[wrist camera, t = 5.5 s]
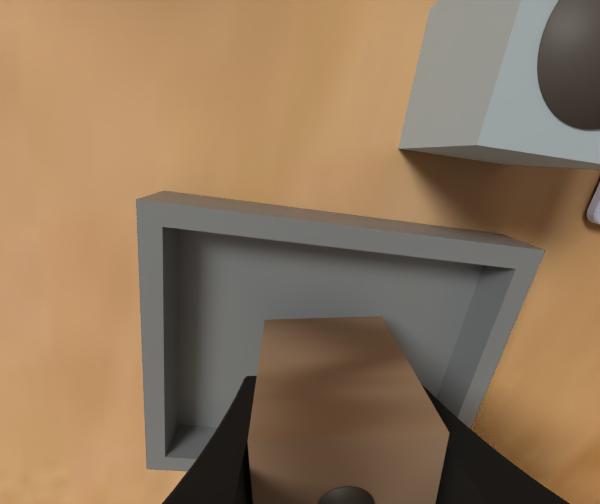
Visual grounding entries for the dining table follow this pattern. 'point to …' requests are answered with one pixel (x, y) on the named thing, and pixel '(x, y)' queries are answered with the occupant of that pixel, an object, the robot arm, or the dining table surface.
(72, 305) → the dining table surface
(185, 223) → the tray
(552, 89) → the wide bore block
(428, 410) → the small bore block
